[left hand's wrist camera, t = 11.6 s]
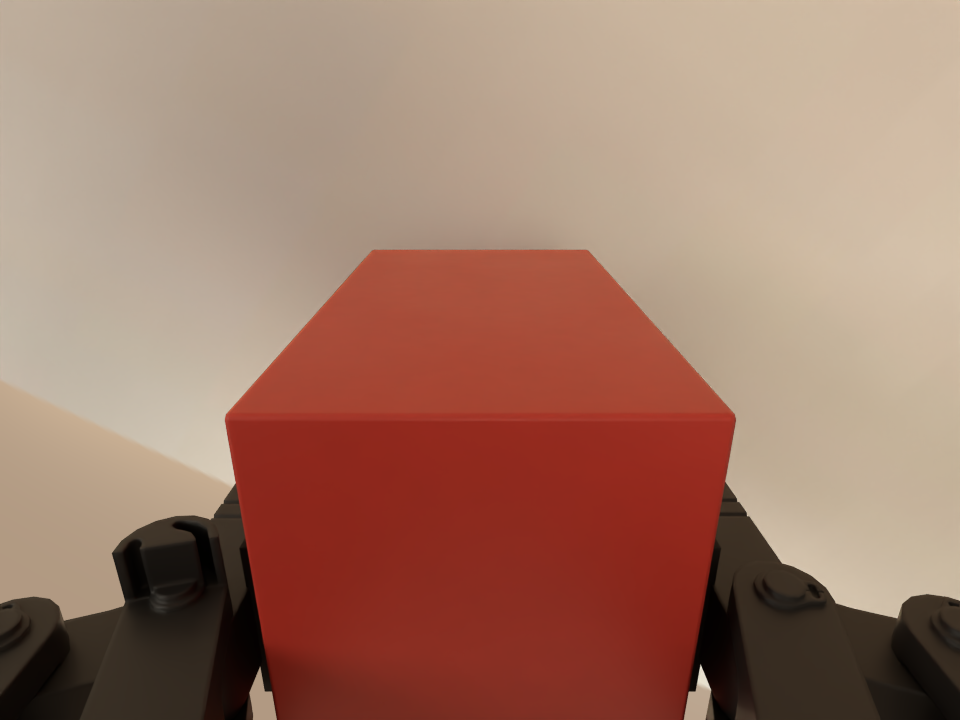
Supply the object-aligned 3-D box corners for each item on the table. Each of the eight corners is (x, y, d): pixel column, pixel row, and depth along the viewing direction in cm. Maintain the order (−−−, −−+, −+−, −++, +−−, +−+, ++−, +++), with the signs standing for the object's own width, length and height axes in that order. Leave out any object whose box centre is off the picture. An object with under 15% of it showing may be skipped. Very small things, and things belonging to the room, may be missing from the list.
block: (390, 531, 17) (306, 904, 9) (371, 249, 14) (220, 415, 6) (570, 531, 17) (654, 904, 9) (589, 249, 14) (739, 415, 6)
